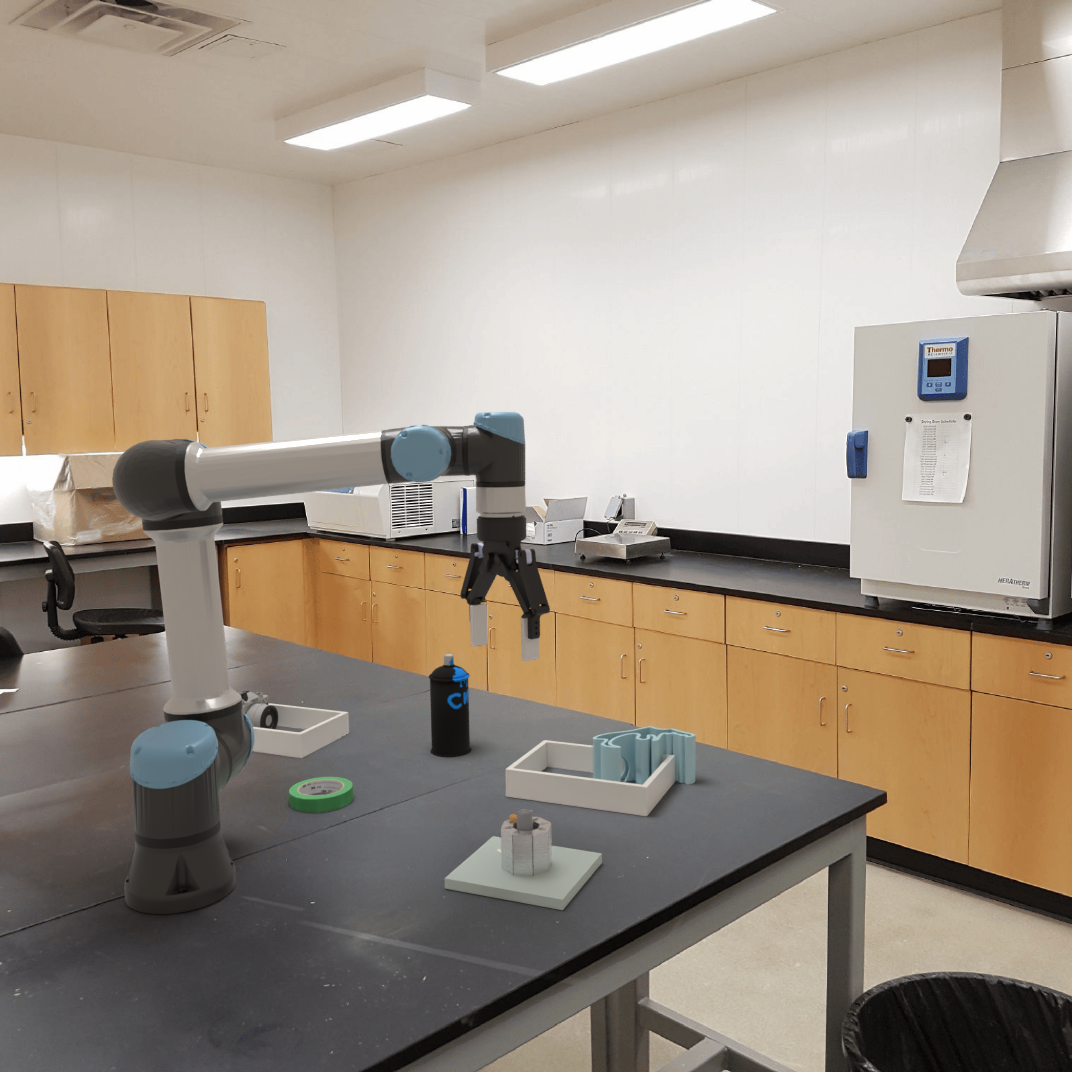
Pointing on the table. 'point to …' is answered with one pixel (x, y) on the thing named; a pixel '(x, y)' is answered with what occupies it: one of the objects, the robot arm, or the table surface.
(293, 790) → the tape roll
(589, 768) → the dispenser corral
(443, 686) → the aerosol can
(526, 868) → the grey piece
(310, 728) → the camera corral
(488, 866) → the peg stand
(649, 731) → the light blue curvy piece
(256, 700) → the camera
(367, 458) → the robot arm
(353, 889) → the table surface
